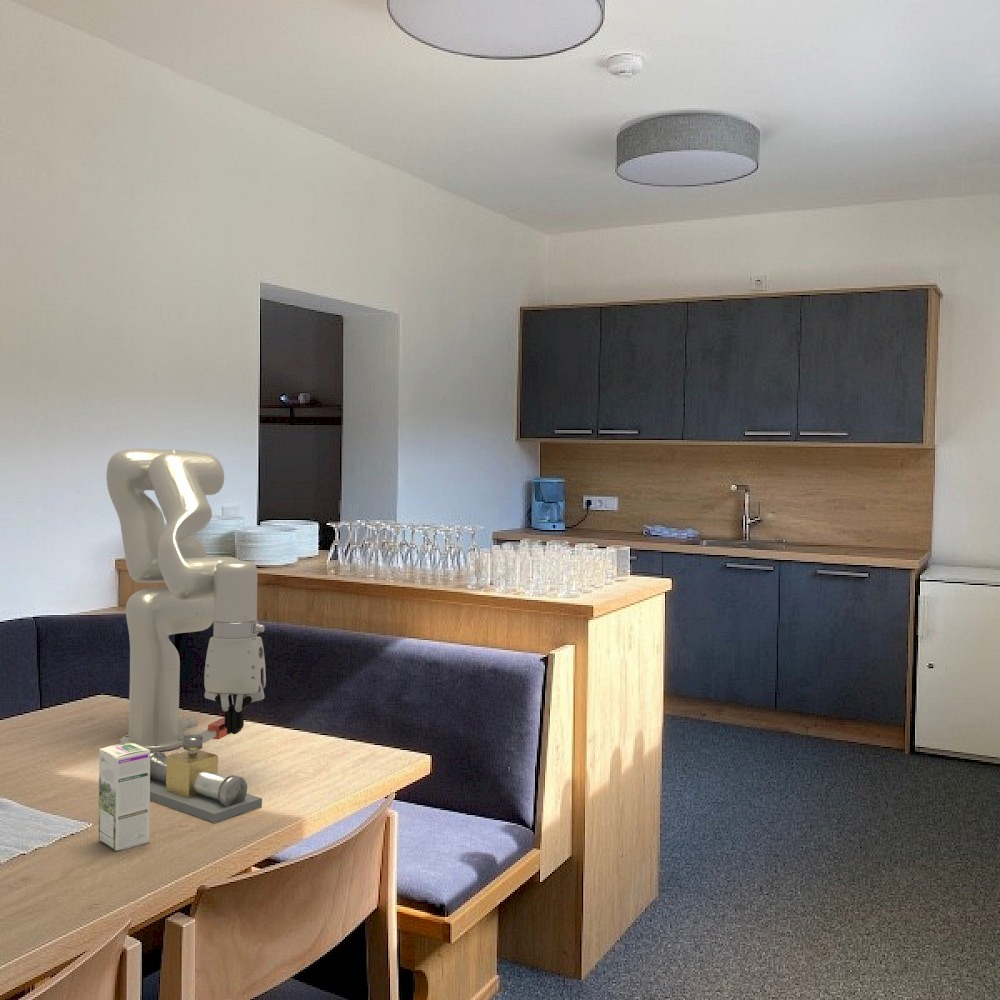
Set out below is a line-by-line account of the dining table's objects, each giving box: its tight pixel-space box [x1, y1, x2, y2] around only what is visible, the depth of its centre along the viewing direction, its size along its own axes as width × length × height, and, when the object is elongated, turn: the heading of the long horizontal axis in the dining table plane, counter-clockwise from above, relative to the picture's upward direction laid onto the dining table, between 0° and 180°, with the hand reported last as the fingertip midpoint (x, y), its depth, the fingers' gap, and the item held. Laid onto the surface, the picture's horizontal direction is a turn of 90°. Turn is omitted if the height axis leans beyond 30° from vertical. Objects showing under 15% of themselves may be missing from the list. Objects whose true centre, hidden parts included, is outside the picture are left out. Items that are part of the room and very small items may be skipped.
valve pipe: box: [150, 749, 248, 807], centre depth 177 cm, size 6×22×7 cm, turn 55°
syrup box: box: [98, 742, 151, 851], centre depth 157 cm, size 6×6×14 cm
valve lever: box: [182, 716, 229, 756], centre depth 182 cm, size 15×3×3 cm, turn 166°
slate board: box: [150, 779, 263, 824], centre depth 177 cm, size 10×24×2 cm, turn 55°
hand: (234, 732), depth 185 cm, fingers closed
